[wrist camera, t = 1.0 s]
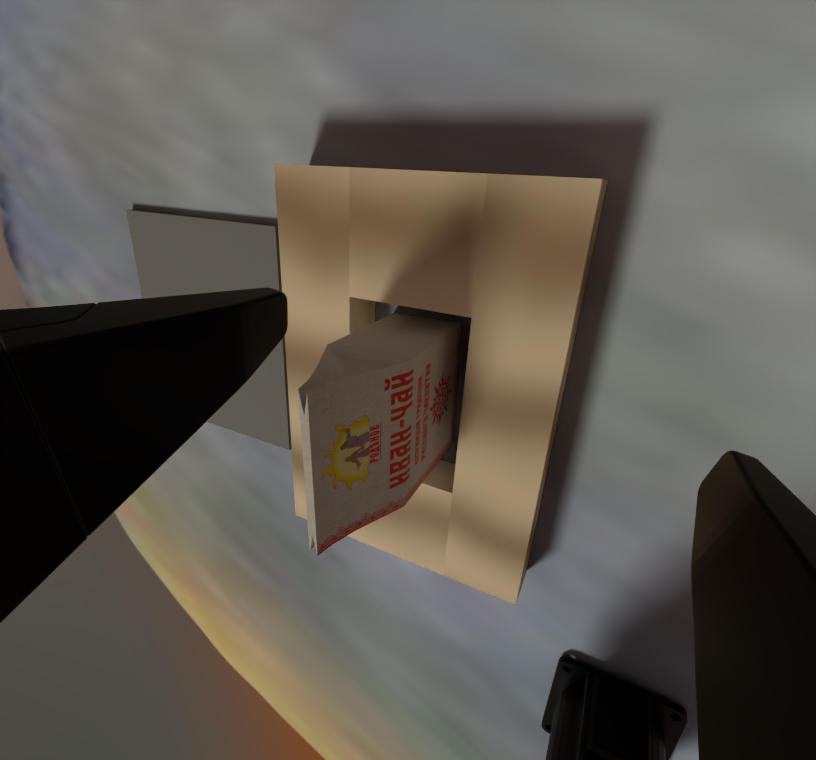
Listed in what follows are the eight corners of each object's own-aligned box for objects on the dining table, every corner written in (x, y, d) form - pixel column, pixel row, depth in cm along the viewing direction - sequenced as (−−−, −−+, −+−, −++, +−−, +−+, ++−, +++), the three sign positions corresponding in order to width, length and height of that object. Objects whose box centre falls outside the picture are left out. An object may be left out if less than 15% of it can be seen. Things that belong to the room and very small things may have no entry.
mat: (293, 447, 30) (289, 449, 30) (167, 404, 35) (162, 406, 34) (280, 225, 25) (275, 226, 24) (132, 209, 29) (126, 209, 29)
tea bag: (392, 427, 26) (273, 537, 18) (394, 312, 23) (256, 378, 15) (452, 443, 25) (354, 571, 16) (461, 323, 22) (350, 402, 14)
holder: (526, 571, 25) (515, 605, 23) (319, 493, 31) (295, 515, 29) (607, 180, 17) (602, 178, 15) (308, 166, 23) (274, 163, 21)
